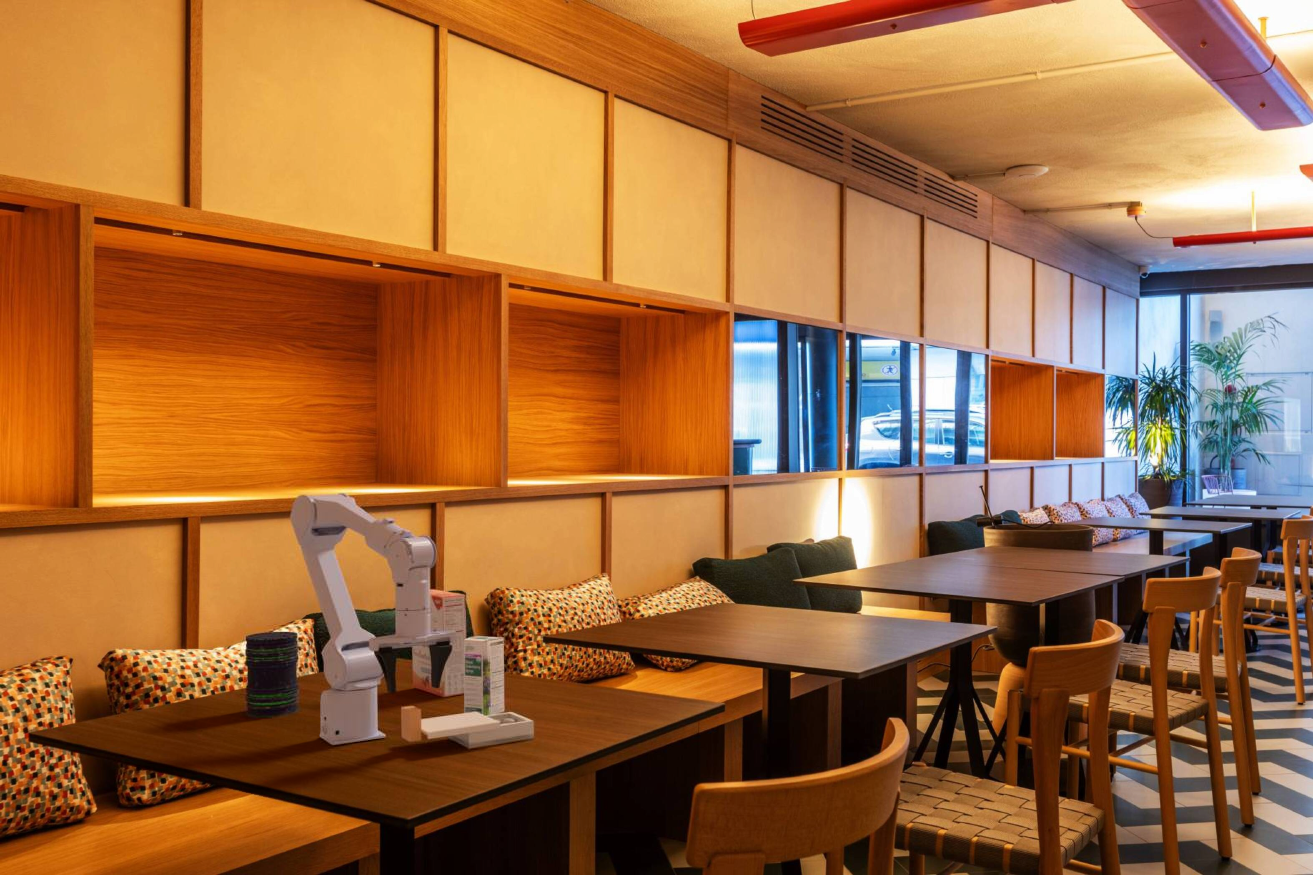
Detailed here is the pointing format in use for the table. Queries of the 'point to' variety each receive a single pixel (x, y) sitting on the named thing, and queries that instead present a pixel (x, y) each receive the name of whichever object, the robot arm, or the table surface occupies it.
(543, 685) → the table surface
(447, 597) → the cracker box
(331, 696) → the robot arm
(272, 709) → the storage jar
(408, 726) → the lid
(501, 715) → the tub
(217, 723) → the table surface
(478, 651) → the syrup box
